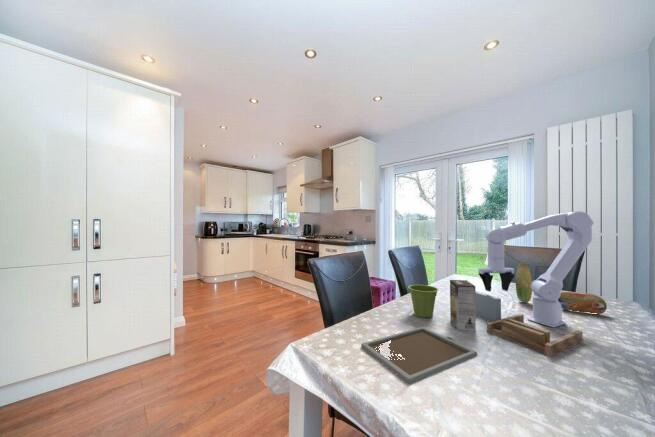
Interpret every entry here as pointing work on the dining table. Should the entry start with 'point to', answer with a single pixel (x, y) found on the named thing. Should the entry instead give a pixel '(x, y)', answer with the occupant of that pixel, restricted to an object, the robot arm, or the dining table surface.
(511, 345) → the dining table surface
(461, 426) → the dining table surface
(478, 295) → the blue grey rectangular slab
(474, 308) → the coffee box
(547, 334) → the offcut
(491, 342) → the dining table surface
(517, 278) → the vegetable
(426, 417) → the dining table surface
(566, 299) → the tin
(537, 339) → the offcut
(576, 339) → the rack
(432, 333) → the picture frame
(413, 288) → the plant pot
